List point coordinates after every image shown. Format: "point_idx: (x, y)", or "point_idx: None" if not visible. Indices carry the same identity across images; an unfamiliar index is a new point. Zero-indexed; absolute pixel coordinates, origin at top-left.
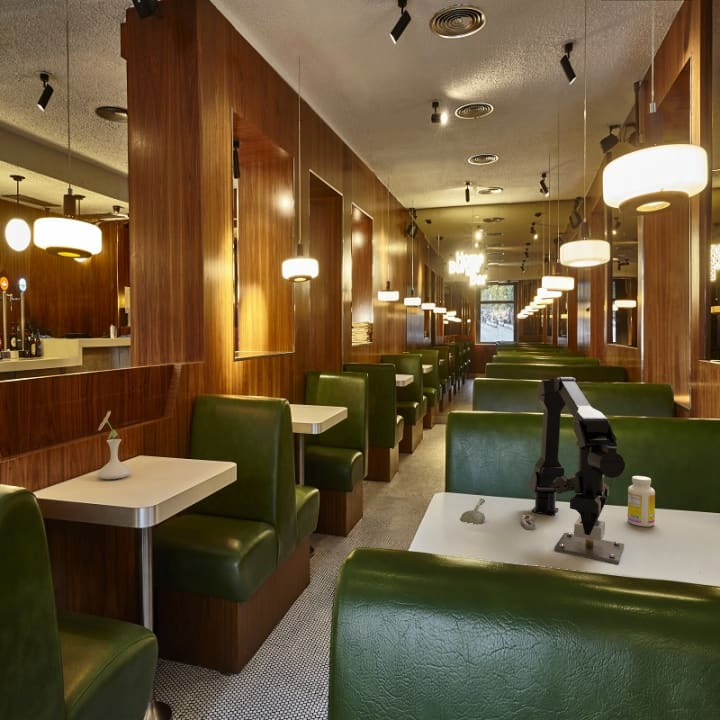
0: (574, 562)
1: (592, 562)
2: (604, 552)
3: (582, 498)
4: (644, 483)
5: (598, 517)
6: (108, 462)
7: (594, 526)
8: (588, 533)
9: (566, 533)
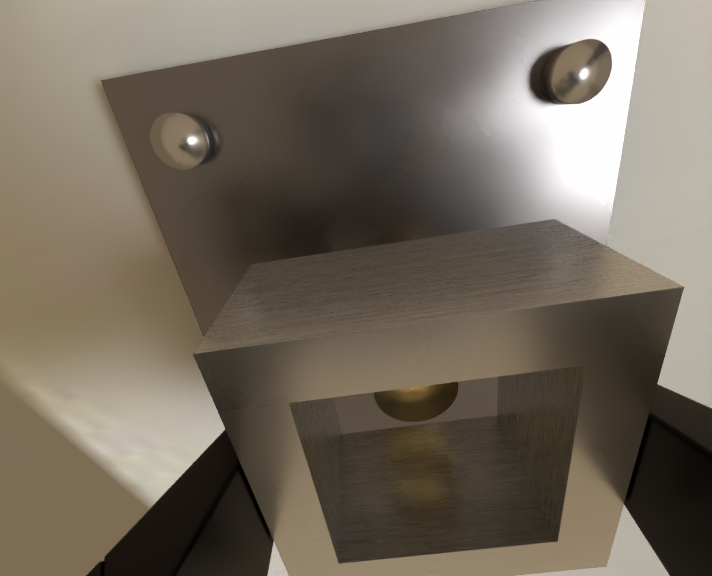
0: (63, 300)
1: (173, 376)
2: None
3: None
4: None
5: (660, 560)
6: None
7: (318, 546)
8: None
9: (624, 18)
